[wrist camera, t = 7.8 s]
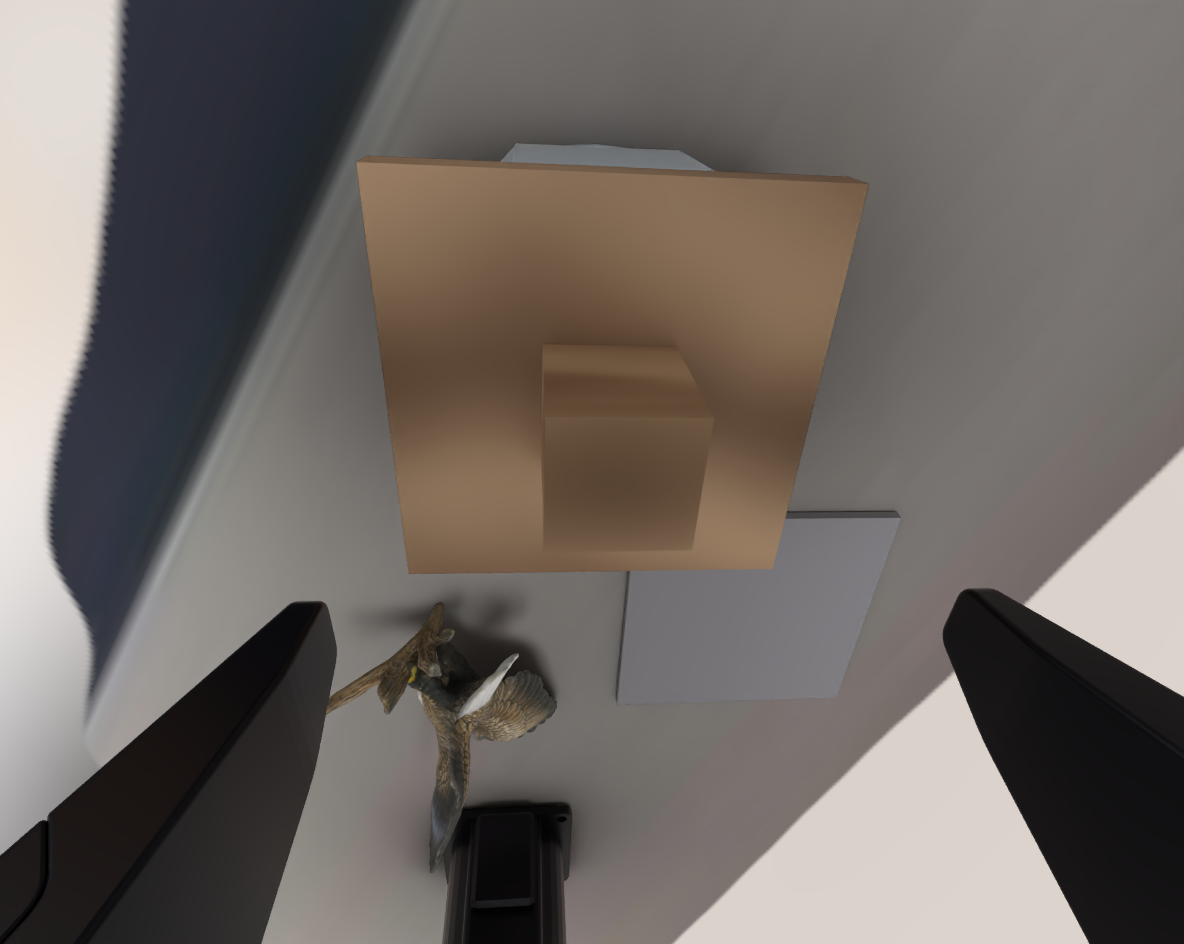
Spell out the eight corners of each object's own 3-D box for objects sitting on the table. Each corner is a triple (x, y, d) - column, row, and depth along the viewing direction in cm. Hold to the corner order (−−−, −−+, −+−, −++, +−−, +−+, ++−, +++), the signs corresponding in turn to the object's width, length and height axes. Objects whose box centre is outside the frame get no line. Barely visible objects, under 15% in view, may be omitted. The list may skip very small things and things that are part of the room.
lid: (761, 546, 19) (818, 666, 15) (414, 550, 18) (383, 677, 14) (849, 176, 14) (967, 219, 10) (367, 156, 13) (300, 193, 9)
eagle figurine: (296, 665, 25) (403, 824, 28) (330, 758, 19) (462, 947, 22) (466, 558, 28) (545, 712, 31) (543, 609, 22) (631, 794, 25)
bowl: (723, 466, 23) (761, 546, 19) (433, 467, 22) (412, 551, 18) (779, 151, 18) (848, 174, 14) (401, 134, 17) (363, 154, 13)
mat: (832, 690, 30) (836, 697, 30) (616, 697, 29) (617, 704, 29) (896, 511, 25) (901, 517, 24) (634, 513, 24) (635, 519, 23)
